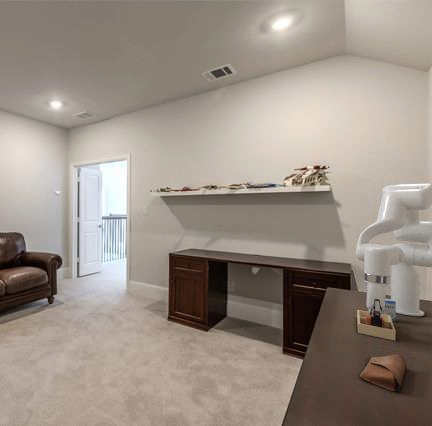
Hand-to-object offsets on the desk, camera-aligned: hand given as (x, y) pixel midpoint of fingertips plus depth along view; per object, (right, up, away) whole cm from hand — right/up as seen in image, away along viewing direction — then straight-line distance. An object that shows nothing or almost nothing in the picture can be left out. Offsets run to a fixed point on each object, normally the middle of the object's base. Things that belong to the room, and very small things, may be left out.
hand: (375, 324), depth 115 cm
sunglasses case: (-24, -3, -29) cm, 38 cm away
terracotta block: (0, -2, 0) cm, 2 cm away
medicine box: (+15, -3, +14) cm, 21 cm away
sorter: (+3, -3, +4) cm, 6 cm away
